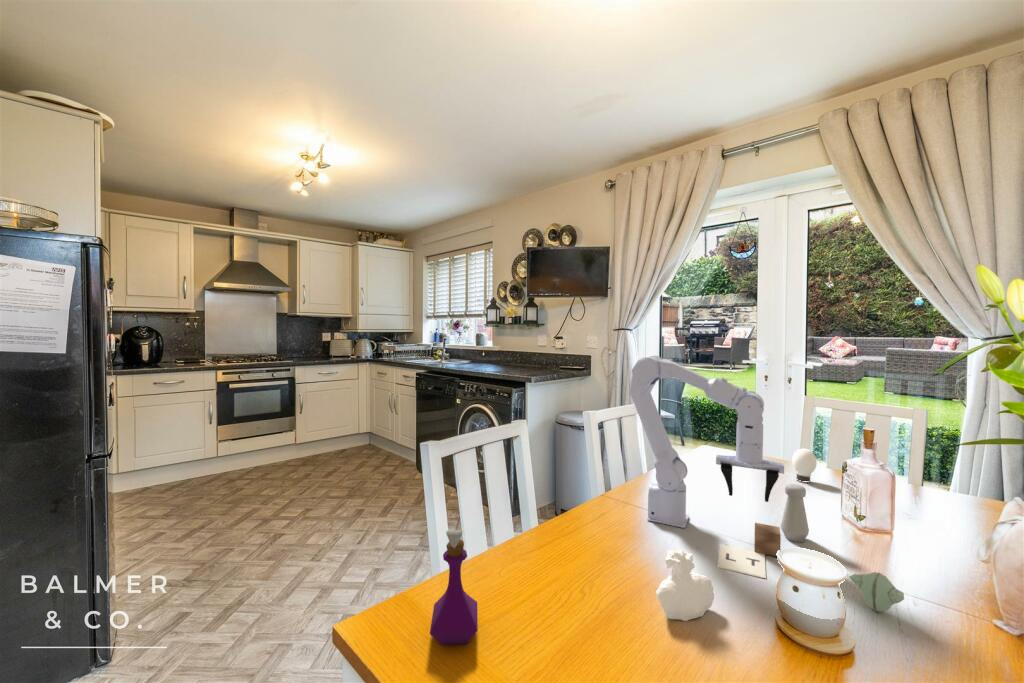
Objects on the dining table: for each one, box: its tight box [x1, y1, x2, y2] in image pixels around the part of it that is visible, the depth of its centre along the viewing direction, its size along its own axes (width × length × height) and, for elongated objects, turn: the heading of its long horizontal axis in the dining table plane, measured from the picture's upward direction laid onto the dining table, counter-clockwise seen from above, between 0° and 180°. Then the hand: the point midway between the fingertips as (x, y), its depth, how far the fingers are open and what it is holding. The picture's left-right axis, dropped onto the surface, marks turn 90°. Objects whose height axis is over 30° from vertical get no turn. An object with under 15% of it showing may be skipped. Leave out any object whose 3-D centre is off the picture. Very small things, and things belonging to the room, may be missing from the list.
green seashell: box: [848, 571, 905, 613], centre depth 79 cm, size 8×4×7 cm, turn 34°
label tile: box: [716, 543, 767, 580], centre depth 96 cm, size 9×11×1 cm
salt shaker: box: [780, 483, 810, 543], centre depth 106 cm, size 6×6×13 cm
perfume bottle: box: [429, 529, 479, 646], centre depth 72 cm, size 8×8×18 cm
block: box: [753, 522, 782, 558], centre depth 100 cm, size 5×5×5 cm
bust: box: [655, 547, 715, 622], centre depth 80 cm, size 12×8×11 cm
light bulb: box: [791, 448, 817, 482], centre depth 146 cm, size 7×7×11 cm
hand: (748, 497), depth 106 cm, fingers open, 7 cm apart
